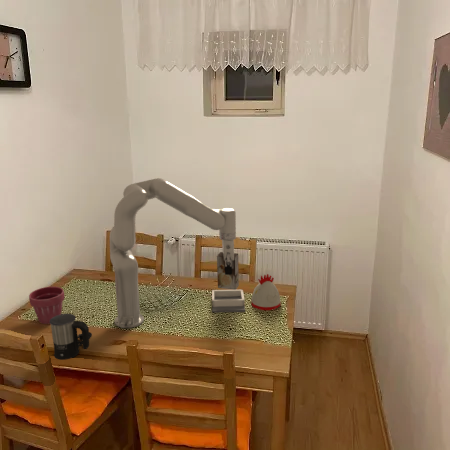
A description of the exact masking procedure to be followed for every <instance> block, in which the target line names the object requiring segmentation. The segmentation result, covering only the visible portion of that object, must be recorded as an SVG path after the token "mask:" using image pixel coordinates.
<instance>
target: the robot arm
mask: <svg viewBox="0 0 450 450" xmlns="http://www.w3.org/2000/svg"><path fill="white" fill-rule="evenodd" d="M122 194H123V196H122V197H123V198H122V199H121V200H120V201H119V202H118V203H117V205H116V207H115V209H114V215H113V218H114V223H113V226H112V227H111V230H110V232H109V256H110V257H109V259H110V262H111V264H112V266H113V268H114V279H115V280H114V282H115V283H114V284H115V296H116V297H115V298H116V307H117V308H116V310H117V311H116V312H117V316H116V317H115V319H114V325H115V326H116V327H119V328H121V329H133V328H135V327H138V326H141V325H142V324H143V323H144V321H145V317H144V315H142V314H141V311H140V309H141V308H140V293H139V292H140V291H139V290H140V289H139V264H138V261H137V259H136V257H135V256H134V254H133V249H134V246H135V245H136V241H137V239H136V217H137V216H136V215H137V214H138V212H140V210H141V209H143V208H144V207H145V206H146V205H147V204H148V201H149V200H153V199H157V200H159V201H161V202H162V203H164V204H165V205H167V206H169V207H171V208H173V209H175V210H176V211H178V212H179V213H181V214H184V215H185V216H187V217H189V218H191V219H193V220H195V221H197V222H198V223H201V224H202V225H204V226H206V227H207V228H209V229H211V230H213V231H219V239H220V240H221V245H222V249H221V250H222V252H223V258H224V261H225V275H232V266H231V260H233V261H234V253H235V240H236V239H237V235H236V234H237V233H236V229H237V228H236V224H237V223H236V210H235V209H234V208H230V207H225V208H219V209H218V208H217V209H215V208H211V207H209V206H207V205H206V204H204V203H202V202H201V201H200V200H198V198H196V197H194V196H193V195H192V194H189V193H188V192H186V191H184V190H183V189H182V188H179V187H178V186H175V185H174V184H173V183H171V182H169V181H167V180H165V179H163V178H159V177H158V178H153V179H152V178H151V179H148V180H144V181H139V182H135V183H131V184H129V185H127V186H126V187H125V188H124V190H123V193H122ZM226 259H227V260H226ZM226 262H227V263H226Z"/></svg>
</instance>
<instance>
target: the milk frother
mask: <svg viewBox="0 0 450 450" xmlns="http://www.w3.org/2000/svg"><path fill="white" fill-rule="evenodd" d="M49 324H50V328H51V335H52V343H53V351H54V353H53V354H54V355H53V356H54V358H55V359H57V360H58V361H59V360H60V361H61V360H62V361H64V360H65V361H66V360H70V359H73V358H75V357H77V356H78V354H79V353H80V347H81V346H82V350H87V349H88V348H89V347H90V339H91V338H92V337H93V333H92V332H90V330H89V325H87V323H86V322H84V321H83V320H76V315H74V314H73V313H72V314H71V313H61V314H60V315H57V316H55V317H53V318H51V319H50V323H49ZM77 329H79V330H80V331H81V333H79V334H78V330H77Z"/></svg>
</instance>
